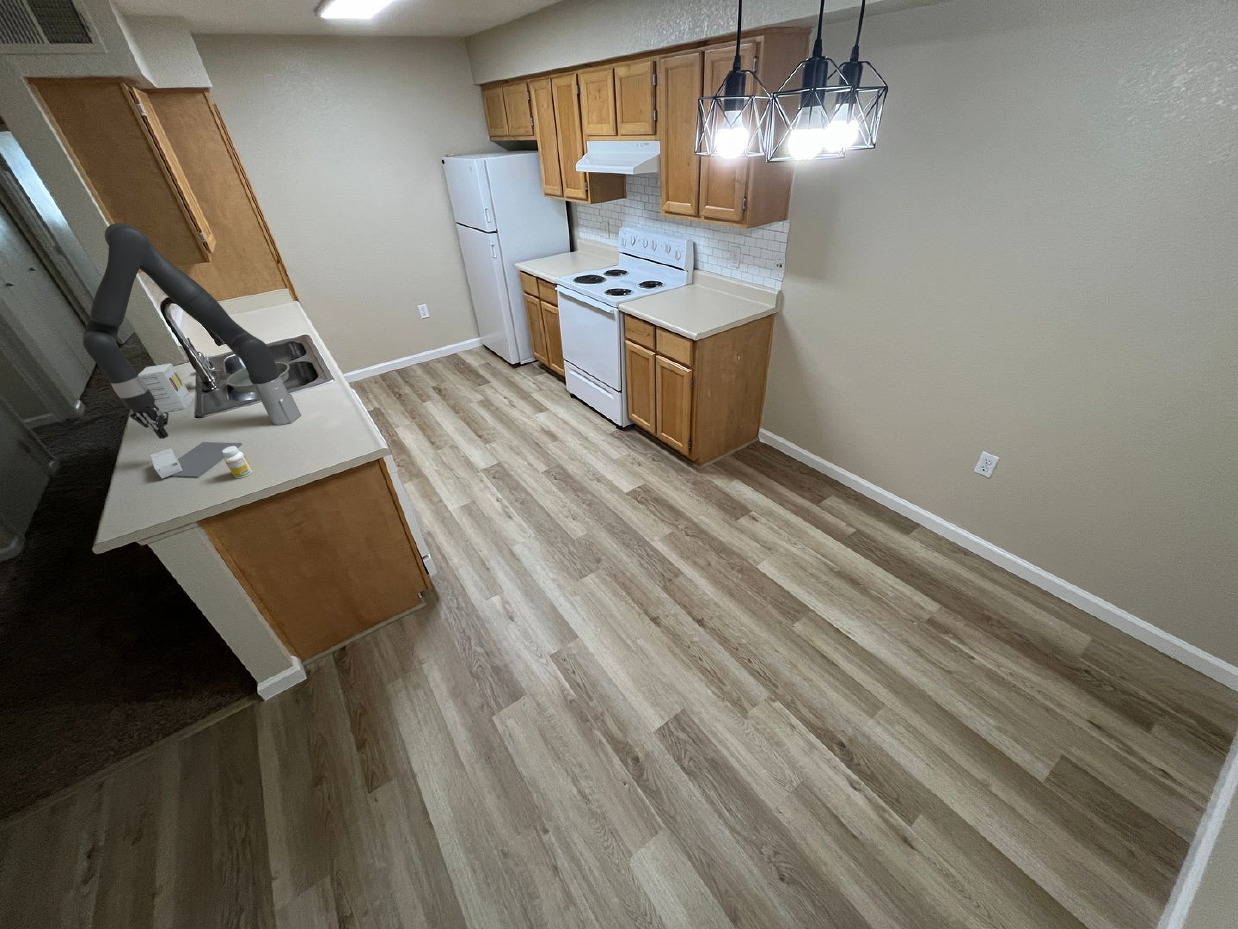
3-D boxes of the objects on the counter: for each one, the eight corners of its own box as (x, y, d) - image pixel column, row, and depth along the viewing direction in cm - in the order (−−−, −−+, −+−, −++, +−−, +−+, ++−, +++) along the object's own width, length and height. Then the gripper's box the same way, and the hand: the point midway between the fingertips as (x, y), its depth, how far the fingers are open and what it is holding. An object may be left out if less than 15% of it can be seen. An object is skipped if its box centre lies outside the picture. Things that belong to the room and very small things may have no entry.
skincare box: (156, 464, 174) (161, 480, 167) (149, 454, 171) (153, 469, 164) (178, 457, 177) (183, 472, 170) (170, 446, 174) (176, 461, 167)
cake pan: (294, 384, 223) (289, 375, 221) (229, 400, 214) (224, 390, 211) (292, 365, 241) (288, 357, 238) (232, 379, 232) (227, 370, 229)
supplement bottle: (239, 469, 170) (225, 445, 164) (256, 468, 170) (242, 443, 164) (231, 479, 165) (215, 454, 159) (248, 477, 165) (233, 453, 160)
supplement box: (186, 409, 209) (162, 371, 200) (160, 413, 207) (135, 376, 197) (193, 399, 217) (171, 362, 207) (168, 403, 215) (145, 366, 205)
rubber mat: (242, 444, 183) (241, 443, 183) (198, 477, 167) (197, 476, 167) (203, 443, 185) (202, 442, 185) (156, 476, 169) (155, 474, 169)
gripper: (104, 397, 160) (137, 443, 170) (140, 397, 158) (172, 443, 168) (126, 386, 166) (157, 431, 176) (161, 386, 164) (190, 431, 174)
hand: (164, 437), depth 172 cm, fingers closed
